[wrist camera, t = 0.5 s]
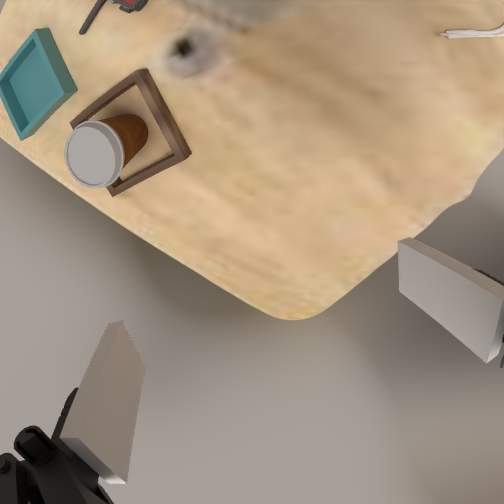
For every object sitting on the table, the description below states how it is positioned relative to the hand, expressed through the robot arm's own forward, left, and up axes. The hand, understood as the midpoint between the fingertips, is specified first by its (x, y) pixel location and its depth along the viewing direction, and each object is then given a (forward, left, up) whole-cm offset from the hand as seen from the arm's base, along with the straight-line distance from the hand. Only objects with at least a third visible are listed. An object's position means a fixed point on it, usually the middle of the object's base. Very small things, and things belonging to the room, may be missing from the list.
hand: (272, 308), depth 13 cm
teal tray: (-30, -35, -33) cm, 57 cm away
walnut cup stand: (-10, -22, -33) cm, 41 cm away
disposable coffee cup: (-10, -22, -33) cm, 41 cm away
